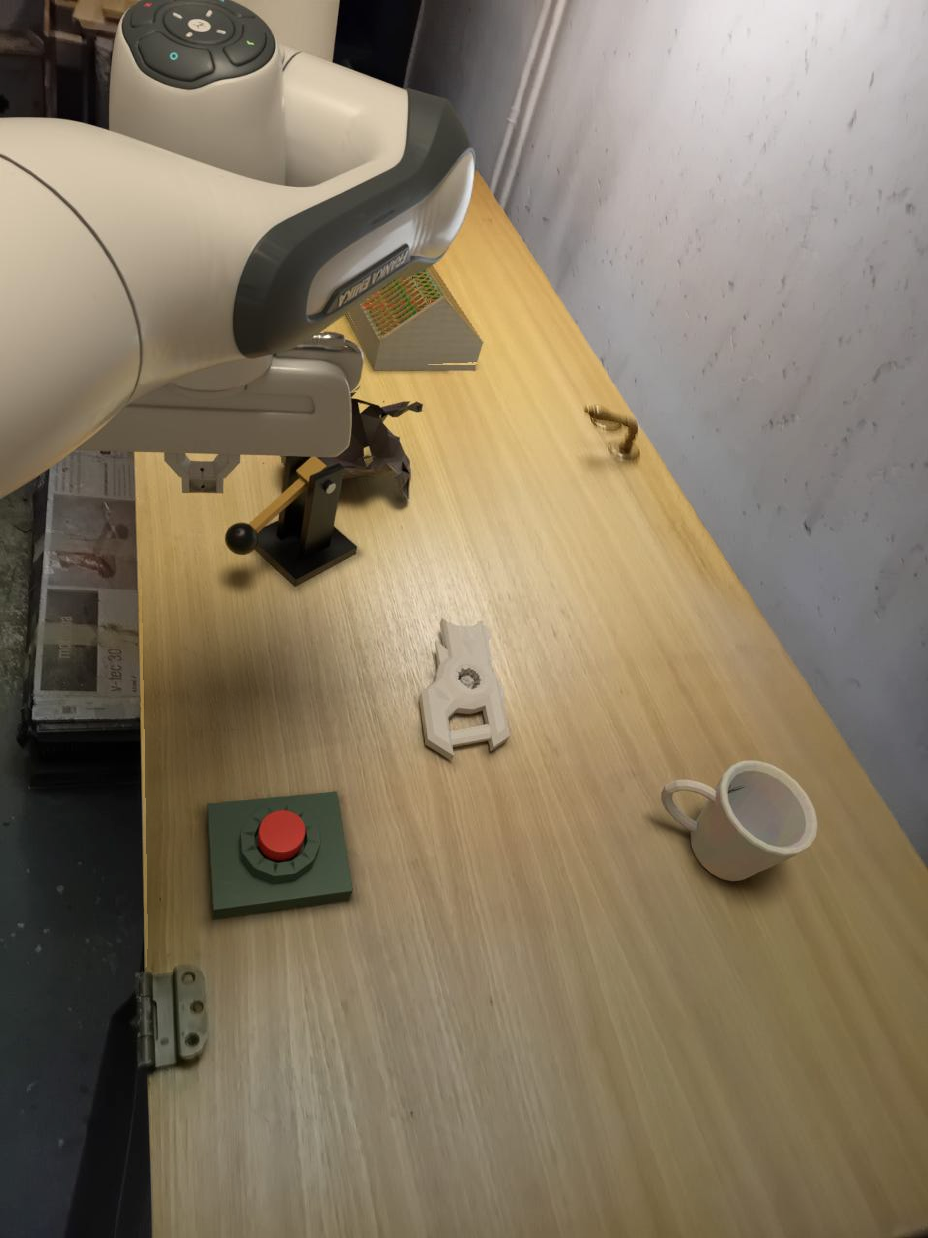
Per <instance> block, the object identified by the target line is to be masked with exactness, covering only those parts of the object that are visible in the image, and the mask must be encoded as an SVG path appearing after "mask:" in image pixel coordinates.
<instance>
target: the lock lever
mask: <svg viewBox="0 0 928 1238" xmlns="http://www.w3.org/2000/svg"><path fill="white" fill-rule="evenodd" d="M326 468H327V466H326V465H325V464H324V463H323V462H322V461H320V460H319V459H318V458H317V457H311V458H310V459H308V460H307V461H306V462H305V463H304V464H303V465H302V466H301V467H300V468H298V469H297V470H296V472H297V474H298V476H299V479H298V480H297V481H295V482H294V483H293V484H292V485H291V486H290V487H289V488H288V489H287V490H286V491H284V492H283V493H282V492H281V493H282V494H281V493H280V495H279V496H277V498H276V499H274V500H273V501H272V502H271V503H270V504H269V505H268V506H266V508H265V509H263V510H262V511H261V512H260V513H258V514H257V515H256V517H254V518H253V519H252V520H251V521H250V522H249V523H247V522H235V523H233V524H232V525H230V526H229V527H227V528H228V529H227V530H226V532H225V535H224V542H225V545H226V547H227V549H228V550H229V551H230V552H231V553H233V554H234V555H238V556H247V555H249V554H251V553H252V552H254V551H256V550H255V548H256V547H257V544H258V534H257V533H258V532H259V531H260V530H262V529H263V528H264V527H265V526H267V525H269V524H270V522H272V521H273V520H274V519H275V518H276V517H277V516H279V513H280V512H281V511H282V510H284V509H285V508H286V507H287V506H288V505H289V504H290V503H291V502H292V501H293V500H295V499H296V498H297V497H298V496H299V495H300V494H301V493H302V492H303V491H304V490H306V489H307V488H308V484H309V478H310V475H313V474H315V473H317V472H319V471H322V470H324V469H326Z"/></svg>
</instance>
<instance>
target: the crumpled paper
mask: <svg viewBox="0 0 928 1238" xmlns="http://www.w3.org/2000/svg"><path fill="white" fill-rule="evenodd" d="M361 386H362V385H361V384H360V385H359V386H357V387H356V388H355V389H354V390H353V391H352V392H350V396H351V410H352V421H351V437H350V444H349V447H348V448H347V449H346V450H345V451H343V452H342V453H341V454H340V455H338V456H337V457H320V458H319V460H320V461H322V462H323V463H324V464H325V465H326V466H327V468H328V467H331V466H333V465H335V464H337V463H340V464H341V465H342V466H343V467H344V468H345V469H344V474H343V479H342V480H346V479H354V478H362V477H368V476H372V479H375V477H374V476H373V475H379V474H384V473H388V472H393V471H394V473H396V474H397V475H396V476H395V477H394V481H395V482H396V485H397V487H395V488H398V489H399V490H400V492H401V494H402V495H403V496H404V498H406V499H407V500H410V486H411V485H410V483H411V480H412V470H411V460H410V458H409V457H408V455H407V454H406V452H405V450H404V447H403V444H402V442H401V437H400V436H397V435H394V433H393V432H392V431H391V430H390V429H389V428H388V427H387V426H386V425H385V423H384V421H385V420H386V419H387V417H388V416H389V417H391V418H399V417H401V416H402V415H404V414H405V413H407V412H408V411H411V412H413V413H422V412H424V410H423V407H424V404H423V403H421V402H419V401H415V402H413V403H411V400H409V401H400V402H396V403H392V404H388V405H384V406H380V405H378V404H375V403H372V402H368V401H365V400H362V399H360V398H353V397H354V395H355V394H356V393H357V392H358V391H359V389H360V387H361ZM382 403H385V400H383V401H382ZM361 404H362V405H366V406H367V407H365V409H364V410H362V411H360V406H359V405H361ZM366 448H369V451H370V454H371V455H369V454H366V455H365V449H366ZM370 458H371V459H372V461H371V462H370V463H369V464H368V465H367V464H366V460H367V459H370ZM278 459H280V462H281V464H282V465H283V466H284V467H285V459H286V456H278ZM262 464H263V465H264V464H265V462H262Z"/></svg>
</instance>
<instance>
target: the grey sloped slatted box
mask: <svg viewBox="0 0 928 1238" xmlns="http://www.w3.org/2000/svg"><path fill="white" fill-rule="evenodd" d="M412 277H413V278H412ZM430 301H431V302H430ZM348 313H349V314H348ZM348 313H347V314H345V315H344V316H345V317H346V319H347V321H348V323H349V325H350V326H351V328H352V331H353V332H354V335H355V337H356V338H357V341H358V342H359V344H360V346H361V348H362V350H363V352H364V354H365V355H366V358H367V360H368V361H369V364H370V366H371V367H372V370H373V371H476V367H477V364H476V365H428V364H443V363H468V362H472V363H473V362H477V363H478V360H479V358H480V354H481V351H482V347H483V345H484V341H483V339H482V338H481V336H480V335H479V333H478V332H477V331H476V329H475V327H474V326H473V324H472V323H471V321H470V320H469V318H468V316H467V315H466V314H465V312H464V310H463V309H462V307H461V306H460V304H459V303H458V301H457V299H455V297H454V295H453V293H452V292H451V290H450V289H449V287H447V284H446V282H444V280H443V279H442V276H441V275H440V273H439V272H438V270H437V269H436V268H435V266H434V264H433V265H432V266H430V267H429V268H427V269H425V270H423V271H421V272H419V273H417V274H415V275H413V276H410V277H408V278H405V279H404V278H402V277H398V278H397V279H395V280H393V281H392V282H391V283H389V284H388V285H386V286H385V287H384V288H382V289H381V290H379V291H378V292H376V293H375V294H374V295H372V296H371V297H369V298H368V299H367V300H365V301H364V302H362V303H361V304H360V305H358V306H357V307H355V308H354V309H353V310H351V311H350V312H348ZM349 315H350V316H349ZM350 317H351V318H350ZM351 319H352V320H351ZM352 321H353V322H352ZM353 323H354V324H353ZM355 326H356V327H355Z"/></svg>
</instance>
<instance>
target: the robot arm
mask: <svg viewBox="0 0 928 1238" xmlns="http://www.w3.org/2000/svg"><path fill="white" fill-rule="evenodd" d="M108 101H109V103H108V129H107V128H103V127H99V126H96V125H92V124H89V123H86V122H81V121H77V120H71V119H66V118H58V117H57V118H56V117H33V116H32V117H31V116H29V117H28V116H27V117H26V116H25V117H24V116H23V117H22V116H20V117H19V116H18V117H0V500H1V499H3V498H5V497H7V496H8V495H10V494H12V493H14V492H15V491H16V490H18V489H20V488H22V487H24V486H25V485H27V484H28V483H30V482H32V481H34V480H35V479H36V478H38V477H39V476H40V475H42V474H44V473H45V472H46V471H48V470H50V469H51V468H53V467H54V466H55V465H57V464H58V463H60V462H61V461H63V460H64V459H65V458H66V457H68V456H69V455H70V454H71V453H73V452H74V451H91V452H92V451H93V452H97V451H98V452H125V453H127V452H128V453H131V452H133V453H162V454H163V455H164V456H163V458H164V459H163V460H164V462H165V463H166V464H167V465H168V467H169V468H170V469H171V470H172V471H173V472H174V473H175V475H177V476H178V478H181V493H182V494H221V495H222V494H224V486H225V485H224V483H225V481H224V480H225V479H226V478H227V477H229V475H230V474H232V472H233V471H234V470H235V469H236V468H237V467H238V466H239V464H240V463H241V455H242V456H273V457H276V456H277V457H281V456H308V457H337V456H338V455H340V454H341V453H342V452H343V451H345V450H346V449H347V448H348V447H349V444H350V437H351V421H352V410H351V398H352V397H351V396H350V393H352V392H353V391H354V390H355V389H357V388H358V385H359V383H361V382H360V381H361V379H362V375H363V369H364V363H365V357H364V353H363V351H362V349H361V347H359V346H358V344H356V343H355V342H354V341H352V340H349V339H346V336H345V334H344V333H343V334H342V333H339V332H335V331H324V330H326V329H328V327H330V326H332V325H333V324H335V323H336V322H337V321H339V320H341V318H343V317H344V316H346V315H345V314H347V313H348V312H350V311H351V310H353V309H354V308H355V307H357V306H358V305H360V304H361V303H362V302H364V301H365V300H369V299H368V298H369V297H371V296H372V295H374V294H375V293H376V292H378V291H379V290H381V289H382V288H384V287H385V286H386V285H388V284H389V283H391V282H392V281H393V280H395V279H397V278H398V277H402V278H404V279H405V278H409V277H410V276H413V275H415V274H417V273H419V272H421V271H423V270H425V269H427V268H429V267H430V266H432V265H433V266H434V265H435V264H436V263H438V262H439V261H440V260H441V259H442V258H443V257H444V256H445V255H446V253H447V252H448V250H449V248H450V247H451V245H452V244H453V243H454V241H455V240H456V238H457V236H458V234H459V232H460V230H461V228H462V226H463V224H464V221H465V219H466V216H467V214H468V210H469V206H470V203H471V200H472V198H471V197H472V194H473V189H474V181H475V169H476V152H475V148H474V146H473V143H472V141H471V139H470V137H469V134H468V132H467V130H466V128H465V125H464V123H463V122H462V120H461V119H460V116H459V115H458V113H457V111H456V109H455V108H454V106H453V105H452V103H451V102H450V100H449V99H448V98H445V97H443V96H442V97H441V96H438V95H434V94H430V93H427V92H423V91H420V90H417V89H413V88H410V87H406V88H402V87H400V86H396V85H394V84H392V83H388V82H386V81H383V80H380V79H378V78H375V77H372V76H370V75H368V74H365V73H362V72H359V71H356V70H354V69H351V68H349V67H346V66H343V65H340V64H338V63H335V62H333V61H332V62H330V61H327V60H324V59H322V58H319V57H316V56H313V55H311V54H308V53H305V52H301V51H298V50H295V49H293V48H290V47H287V46H285V45H282V44H280V43H278V42H277V39H276V37H275V35H274V33H273V32H272V30H271V29H270V27H269V26H268V25H267V24H266V23H265V22H264V21H263V20H262V19H261V18H260V17H259V16H258V15H256V14H255V13H254V12H252V11H251V10H249V9H248V8H246V7H244V6H242V5H240V4H238V3H236V2H234V1H231V0H139V1H137V2H135V3H134V4H133V5H131V6H130V7H129V8H127V9H126V11H124V13H123V14H122V16H121V18H120V20H119V22H118V24H117V28H116V32H115V37H114V42H113V50H112V56H111V66H110V79H109V99H108ZM378 293H379V292H378ZM374 296H375V295H374ZM187 454H197V455H198V454H201V455H202V454H204V455H216V457H214V459H213V460H212V461H209V460H205V461H204V460H203V461H201V460H190V458H189V457H188V455H187Z"/></svg>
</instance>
